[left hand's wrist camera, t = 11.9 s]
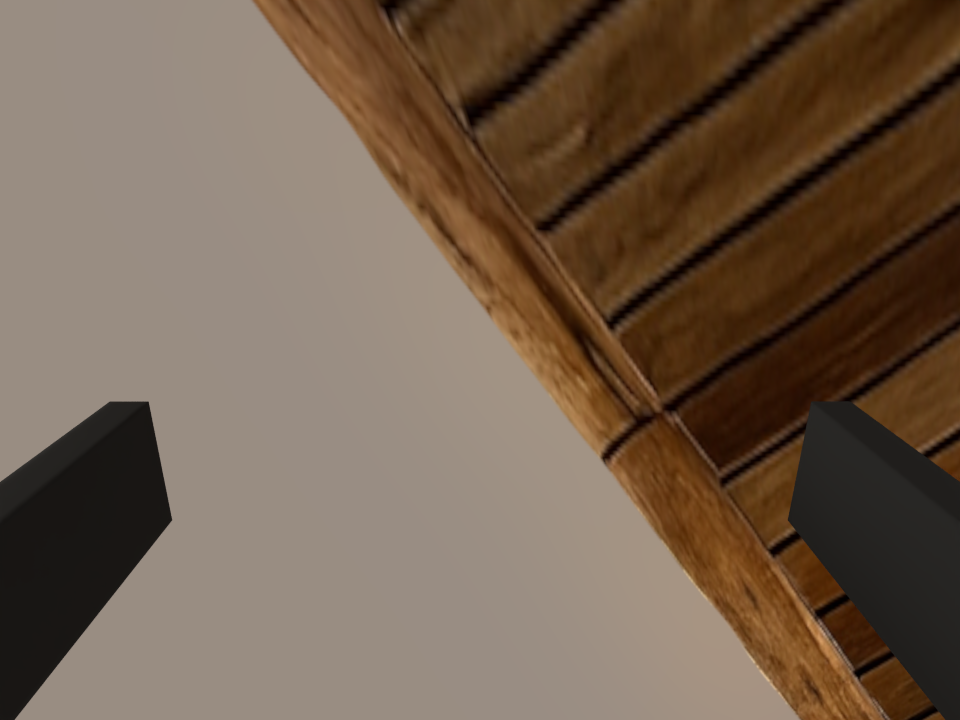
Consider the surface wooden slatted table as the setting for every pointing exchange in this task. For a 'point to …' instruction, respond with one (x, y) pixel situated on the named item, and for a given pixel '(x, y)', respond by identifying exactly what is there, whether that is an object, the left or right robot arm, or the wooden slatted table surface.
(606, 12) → the wooden slatted table surface
